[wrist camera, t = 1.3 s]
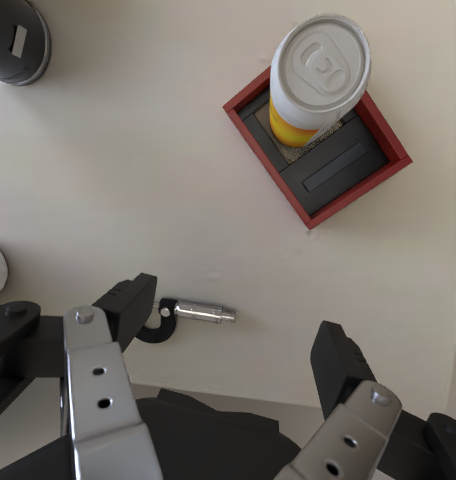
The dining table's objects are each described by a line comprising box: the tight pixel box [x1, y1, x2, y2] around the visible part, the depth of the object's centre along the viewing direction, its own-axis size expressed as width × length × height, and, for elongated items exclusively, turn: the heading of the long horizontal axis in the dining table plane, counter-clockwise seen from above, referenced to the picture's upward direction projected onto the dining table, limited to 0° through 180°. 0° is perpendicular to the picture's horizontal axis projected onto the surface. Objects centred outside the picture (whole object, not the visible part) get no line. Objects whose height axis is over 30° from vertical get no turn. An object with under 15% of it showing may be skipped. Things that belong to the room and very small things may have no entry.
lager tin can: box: [270, 14, 371, 148], centre depth 24 cm, size 6×6×15 cm
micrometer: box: [135, 298, 236, 343], centre depth 37 cm, size 15×7×2 cm, turn 85°
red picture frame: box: [223, 66, 413, 230], centre depth 30 cm, size 16×12×4 cm
